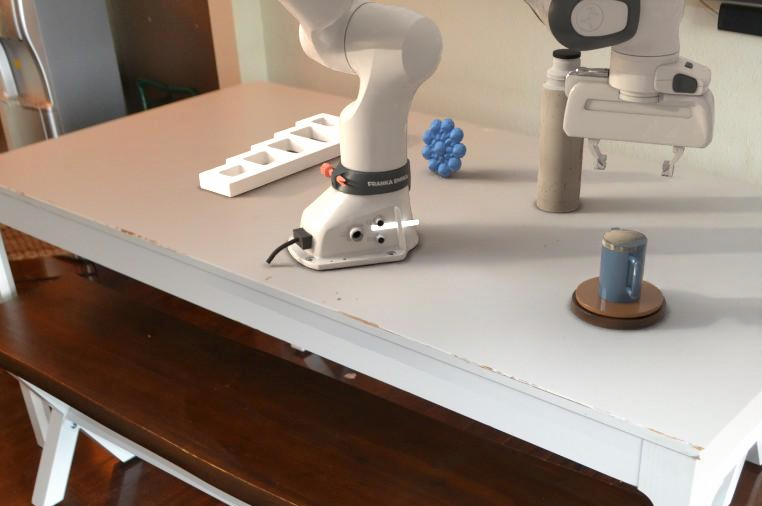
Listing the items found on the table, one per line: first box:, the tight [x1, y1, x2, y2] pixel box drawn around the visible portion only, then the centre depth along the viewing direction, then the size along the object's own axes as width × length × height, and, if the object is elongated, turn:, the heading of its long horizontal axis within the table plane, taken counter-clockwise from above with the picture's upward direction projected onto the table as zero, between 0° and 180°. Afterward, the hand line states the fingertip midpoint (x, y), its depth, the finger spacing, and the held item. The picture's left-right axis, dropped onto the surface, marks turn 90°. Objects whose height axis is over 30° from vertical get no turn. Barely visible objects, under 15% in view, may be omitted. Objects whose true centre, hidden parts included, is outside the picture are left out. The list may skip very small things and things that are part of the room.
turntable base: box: [570, 289, 667, 331], centre depth 148 cm, size 14×14×2 cm
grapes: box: [421, 117, 467, 178], centre depth 195 cm, size 12×7×12 cm, turn 45°
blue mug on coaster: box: [575, 226, 664, 318], centre depth 145 cm, size 13×13×10 cm
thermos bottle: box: [536, 48, 585, 214], centre depth 177 cm, size 8×8×28 cm
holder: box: [198, 112, 341, 198], centre depth 207 cm, size 45×18×3 cm, turn 143°
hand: (633, 171), depth 137 cm, fingers open, 8 cm apart
